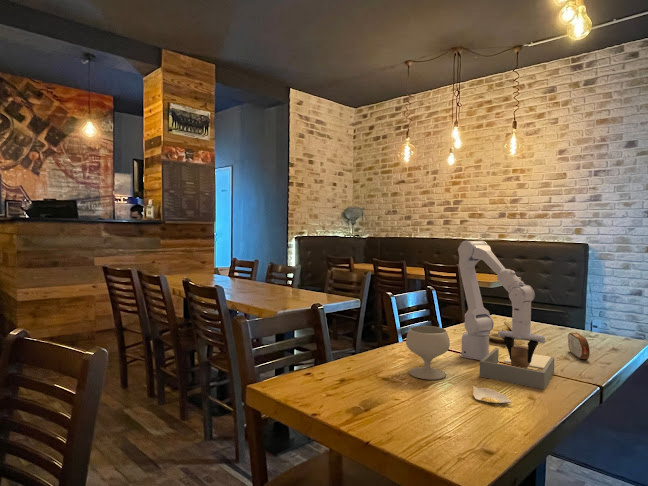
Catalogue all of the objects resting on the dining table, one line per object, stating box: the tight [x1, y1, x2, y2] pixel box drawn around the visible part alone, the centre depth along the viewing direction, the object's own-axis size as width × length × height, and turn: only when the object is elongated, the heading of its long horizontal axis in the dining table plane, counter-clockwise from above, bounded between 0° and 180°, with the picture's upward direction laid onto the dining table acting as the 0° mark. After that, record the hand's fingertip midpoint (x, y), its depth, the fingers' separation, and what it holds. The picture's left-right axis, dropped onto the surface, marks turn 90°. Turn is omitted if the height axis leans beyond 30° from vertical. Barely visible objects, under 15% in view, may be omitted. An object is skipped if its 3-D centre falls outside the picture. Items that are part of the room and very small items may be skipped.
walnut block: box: [510, 344, 530, 369], centre depth 145 cm, size 5×5×6 cm
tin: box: [567, 332, 591, 360], centre depth 163 cm, size 15×3×8 cm, turn 168°
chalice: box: [405, 325, 451, 381], centre depth 140 cm, size 14×14×15 cm
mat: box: [503, 353, 552, 370], centre depth 157 cm, size 14×16×1 cm
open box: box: [479, 347, 555, 390], centre depth 141 cm, size 19×20×5 cm
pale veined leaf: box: [472, 385, 513, 404], centre depth 120 cm, size 8×12×2 cm, turn 41°
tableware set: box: [489, 321, 521, 348], centre depth 188 cm, size 30×20×6 cm, turn 136°
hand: (520, 360), depth 145 cm, fingers closed on walnut block, 5 cm apart
